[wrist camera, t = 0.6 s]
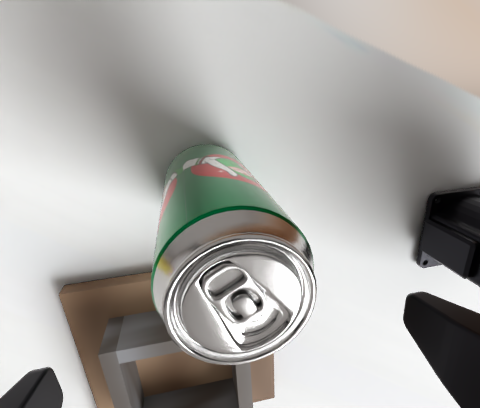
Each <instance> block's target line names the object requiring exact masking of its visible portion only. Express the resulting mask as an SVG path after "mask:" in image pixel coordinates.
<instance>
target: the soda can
mask: <svg viewBox="0 0 480 408" xmlns="http://www.w3.org/2000/svg"><path fill="white" fill-rule="evenodd" d="M313 271H314V264H313V255H312V252H311V248H310V245H309V243H308V241H307V239H306V237H305V236H304V235H303V233H302V232H301V231H300V229H299V228H298V227H297V226H296V225H295V223H294V222H293V221H292V220H291V219H290V218H289V217H288V215H287V214H286V213H285V212H284V211H283V210H282V209H281V207H280V206H279V205H278V204H277V203H276V202H275V201H274V200H273V198H272V197H271V196H270V195H269V194H268V193H267V192H266V190H265V189H264V188H263V187H262V186H261V185H260V184H259V182H258V181H257V180H256V179H255V178H254V177H253V176H252V174H251V173H250V172H249V171H248V170H247V169H246V168H245V166H244V165H243V164H242V163H241V162H240V161H239V160H238V159H237V157H236V156H234V155H233V154H232V153H231V152H230V151H228V150H227V149H224V148H222V147H220V146H216V145H209V144H204V145H197V146H193V147H190V148H188V149H186V150H184V151H183V152H181V153H180V154H179V155H178V156H177V157H176V158H175V159H174V160H173V161H172V163H171V164H170V166H169V168H168V171H167V173H166V178H165V184H164V191H163V198H162V205H161V212H160V219H159V225H158V232H157V239H156V246H155V253H154V260H153V267H152V274H151V294H152V300H153V303H154V305H155V308H156V310H157V312H158V314H159V315H160V317H161V319H162V320H163V321H164V324H165V326H166V329H167V332H168V334H169V335H170V337H171V339H172V340H173V342H174V343H175V344H176V345H177V346H178V347H179V348H180V349H181V350H183V351H184V352H185V353H187V354H188V355H190V356H192V357H194V358H196V359H198V360H201V361H204V362H207V363H212V364H219V365H237V364H244V363H249V362H253V361H256V360H259V359H262V358H264V357H267V356H269V355H271V354H273V353H275V352H276V351H278V350H280V349H281V348H283V347H284V346H285V345H287V344H288V343H289V342H291V341H292V340H293V339H294V338H295V337H296V336H297V335H298V334H299V332H300V331H301V330H302V329H303V328H304V326H305V325H306V323H307V321H308V320H309V318H310V316H311V314H312V311H313V309H314V305H315V301H316V293H317V287H316V279H315V275H314V272H313Z"/></svg>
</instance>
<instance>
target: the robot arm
mask: <svg viewBox="0 0 480 408" xmlns="http://www.w3.org/2000/svg"><path fill="white" fill-rule="evenodd" d="M435 200H436V201H435ZM417 265H419V266H420V267H422V268H427V267H432V266H438V265H444V266H445V267H447V268H448V269H450V270H451V271H453V272H454V273H456V274H458V275H459V276H461V277H462V278H464V279H466V278H467V279H468V280H470V281H471V282H473V283H474V284H476V285H478V286H479V287H480V187H474V188H467V189H459V190H451V191H444V192H436V193H433V194H431V195H430V197H429V199H428V203H427V208H426V214H425V219H424V224H423V230H422V235H421V240H420V245H419V251H418V256H417ZM403 320H404V324H405V326H406V328H407V330H408V331H409V333H410V334H411V336H412V337H413V339H414V341H415V342H416V344H417V345H418V347H419V348H420V350H421V351H422V353H423V355H424V356H425V358H426V359H427V361H428V362H429V364H430V365H431V367H432V369H433V370H434V372H435V373H436V375H437V376H438V378H439V379H440V381H441V382H442V383H443V385H444V386H445V388H446V389H447V390H448V392H449V393H450V394H451V396H452V397H453V398H454V399H455V401H456V402H457V403H458V405H459V406H460V407H461V408H480V314H479V313H477V312H474V311H472V310H469V309H466V308H464V307H461V306H459V305H456V304H454V303H451V302H449V301H446V300H444V299H441V298H439V297H436V296H434V295H431V294H429V293H426V292H416V293H411V294H408V296H407V297H406V302H405V308H404V315H403ZM62 402H63V393H62V389H61V387H60V385H59V382H58V380H57V378H56V375H55V373H54V371H53V369H51V368H50V367H46V368H41V369H36V370H32V371H30V372H28V373H27V374H26V375H25V376H24V377H23V378H22V379H21V380H19V381H18V382H17V383H16V384H15V385H14V386H13V387H12V388H11V389H10V390H9V391H8V392H7V393H6V394H4V395H3V396H2V397H1V398H0V408H61V407H62Z"/></svg>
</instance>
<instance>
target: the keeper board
mask: <svg viewBox="0 0 480 408" xmlns="http://www.w3.org/2000/svg"><path fill="white" fill-rule="evenodd" d="M151 274H152V272H147V273H141V274H134V275H128V276H121V277H115V278H108V279H102V280H95V281H89V282H82V283H76V284H69V285H64V287H63V288H62V290H61V292H60V293H59V297H60V300H61V303H62V306H63V309H64V312H65V315H66V317H67V320H68V323H69V326H70V329H71V332H72V335H73V338H74V341H75V344H76V347H77V350H78V353H79V355H80V358H81V361H82V364H83V367H84V370H85V373H86V376H87V379H88V382H89V385H90V388H91V391H92V393H93V396H94V399H95V402H96V405H97V408H253V402H258V401H262V400H266V399H270V398H274V353H273V354H271V355H269V356H267V357H264V358H262V359H259V360H256V361H253V362H249V363H244V364H237V365H219V364H212V363H207V362H204V361H201V360H198V359H196V358H194V357H192V356H190V355H188V354H187V353H185V352H184V351H183V350H181V349H180V348H179V347H178V346H177V345H176V344H175V343H174V342H173V340H172V339H171V337H170V335H169V334H168V332H167V329H166V326H165V324H164V321H163V320H162V319H161V317H160V315H159V314H158V312H157V310H156V308H155V305H154V303H153V300H152V294H151Z"/></svg>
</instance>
